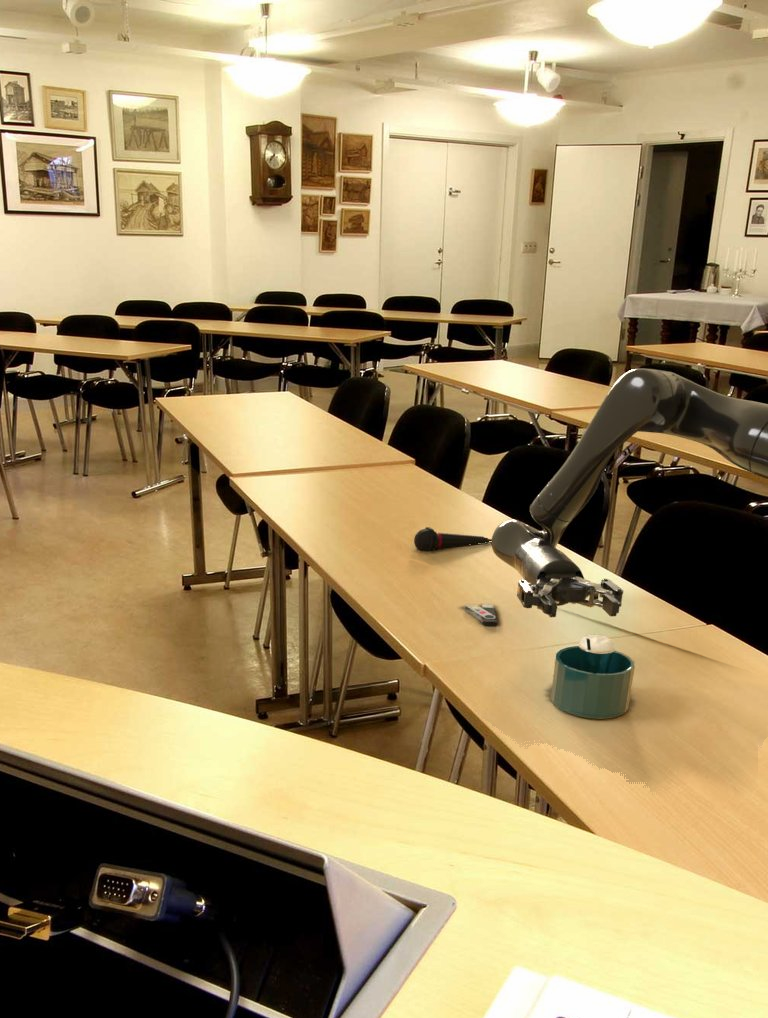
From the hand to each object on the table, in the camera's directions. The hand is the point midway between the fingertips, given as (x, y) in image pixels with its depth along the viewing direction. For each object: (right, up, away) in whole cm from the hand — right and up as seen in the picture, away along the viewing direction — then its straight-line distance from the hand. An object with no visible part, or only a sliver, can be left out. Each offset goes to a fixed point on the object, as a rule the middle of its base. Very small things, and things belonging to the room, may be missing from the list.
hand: (584, 610), depth 129 cm
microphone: (-2, +15, +68) cm, 70 cm away
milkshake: (0, -13, -1) cm, 13 cm away
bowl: (0, -13, -1) cm, 13 cm away
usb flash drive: (-7, 0, +30) cm, 31 cm away
